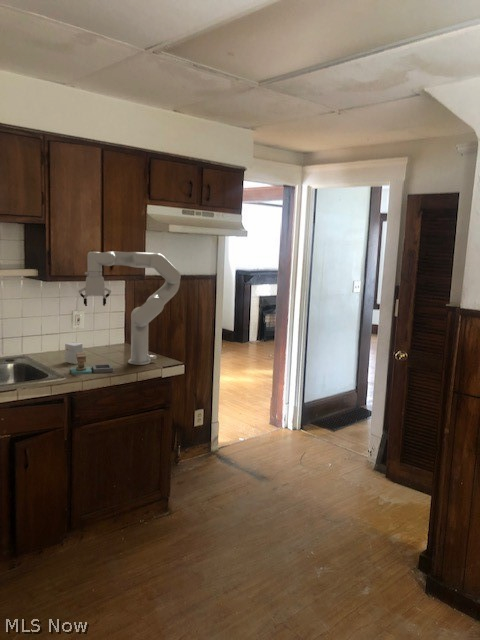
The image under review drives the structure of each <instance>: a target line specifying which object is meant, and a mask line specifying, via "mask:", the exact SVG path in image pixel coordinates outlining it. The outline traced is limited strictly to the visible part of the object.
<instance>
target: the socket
mask: <svg viewBox="0 0 480 640" xmlns="http://www.w3.org/2000/svg"><path fill="white" fill-rule="evenodd" d="M91 370H92V372H93V374H101V373H102V374H103V373H104V374H105V373H114V372H115V371H114V367H113V365H112V363H103V364H102V363H100V364H99V363H98V364H91Z"/></svg>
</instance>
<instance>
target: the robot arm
mask: <svg viewBox="0 0 480 640" xmlns="http://www.w3.org/2000/svg"><path fill="white" fill-rule="evenodd" d="M103 266H107V267H111V266H125V267H126V266H127V267H131V268H141V269H154V270H155V271H156V272H157V273H158V274H159V275H160V276H161V277H162V278H163V279H164V280H165V282H164V283H163V284H162V286H161V287H160V288H158V289H157V290H156V291H155V292H153V294H151V295H150V296H149V297H148V298H147V299H146V301H145V302H144V303H143V304H142V305H141V306H137V307H135V308H134V309H133V310H132V311H131V314H130V323H131V325H130V327H131V328H130V358H129V359H128V361H127V362H128V364H129V365H137V366H140V365H141V366H143V365H149V364H151V363H152V362H151V361H152V360H156V359H157V355H152V354H151V355H150V354H149V323H151V322H152V321H153V320H154V319H155V318H156V317H157V316H158V315H159V314H160V313H162V311H163V310H164V307H165V305H166V304H167V303H168V302H169V301H170V300H171V299H172V298H173V297H174V296H175V295H176V294H177V293H178V291H179V289H180V284H181V276H182V275H181V272H180V271H179V270H178V269H177V268H176V267H175V266H174V265H173V264H172V263H171V262H170V261H169V260H168V259H167V257H165V256H164V255H163V254H162V253H159V252H146V251H145V252H144V251H143V252H142V251H141V252H140V251H113V250H112V251H106V252H100V251H89V252H88V253H87V271H85V272H84V275H85V276H86V277H85V278H86V279H85V286H84V287H83V288H81V289H79V290H78V293H79V295H80V296H81V297H82V298H83V305H84V306H85V307H87V306H88V304H87V303H88V298H87V297H88V296H90V297H91V296H92V297H93V296H99V297H100V296H102V306H103V307H105V306H106V305H107V298H108V297H109V296H110V294H111V293H112V290H111V289H109V288H107V287H106V286H105V278H104V276H103ZM83 292H84V293H85V294H83ZM106 292H107V293H106ZM105 293H106V294H105Z"/></svg>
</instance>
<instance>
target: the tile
mask: <svg viewBox="0 0 480 640" xmlns="http://www.w3.org/2000/svg"><path fill="white" fill-rule="evenodd" d="M76 367H77V366H76ZM76 367H73V366H72V367H70V369H69V371H70V372H71V375H80V374H81V375H82V374H83V375H85V374H86V375H87V374H93V373H92V372H93V370H92V367H91V366H85V367H86V370H83V371H78V370H76Z"/></svg>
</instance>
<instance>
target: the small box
mask: <svg viewBox="0 0 480 640" xmlns="http://www.w3.org/2000/svg"><path fill="white" fill-rule="evenodd" d="M64 346H65V347H64V356H65V363H69V364H72V365H73V364H74V365H78V361H77V358H76V353H84V351H83V350H84V348H83V344H82V343H79V342H78V343H77V342H68V343H65V345H64Z"/></svg>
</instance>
